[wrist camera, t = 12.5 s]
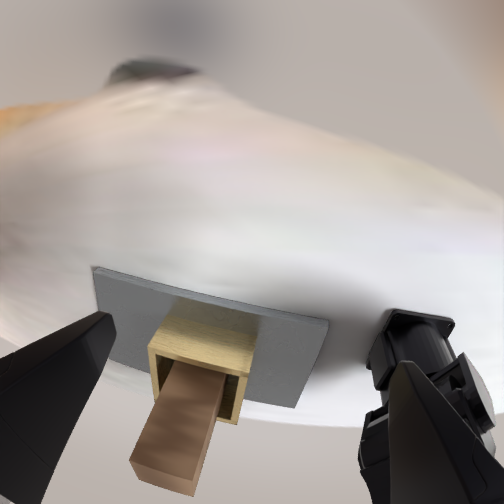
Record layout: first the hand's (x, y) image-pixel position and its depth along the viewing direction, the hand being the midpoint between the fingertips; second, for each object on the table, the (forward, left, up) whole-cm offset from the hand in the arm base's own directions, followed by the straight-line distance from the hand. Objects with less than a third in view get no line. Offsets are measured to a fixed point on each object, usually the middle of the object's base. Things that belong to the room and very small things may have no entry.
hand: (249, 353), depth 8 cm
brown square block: (+4, +14, -12) cm, 19 cm away
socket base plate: (+5, +13, -13) cm, 19 cm away
